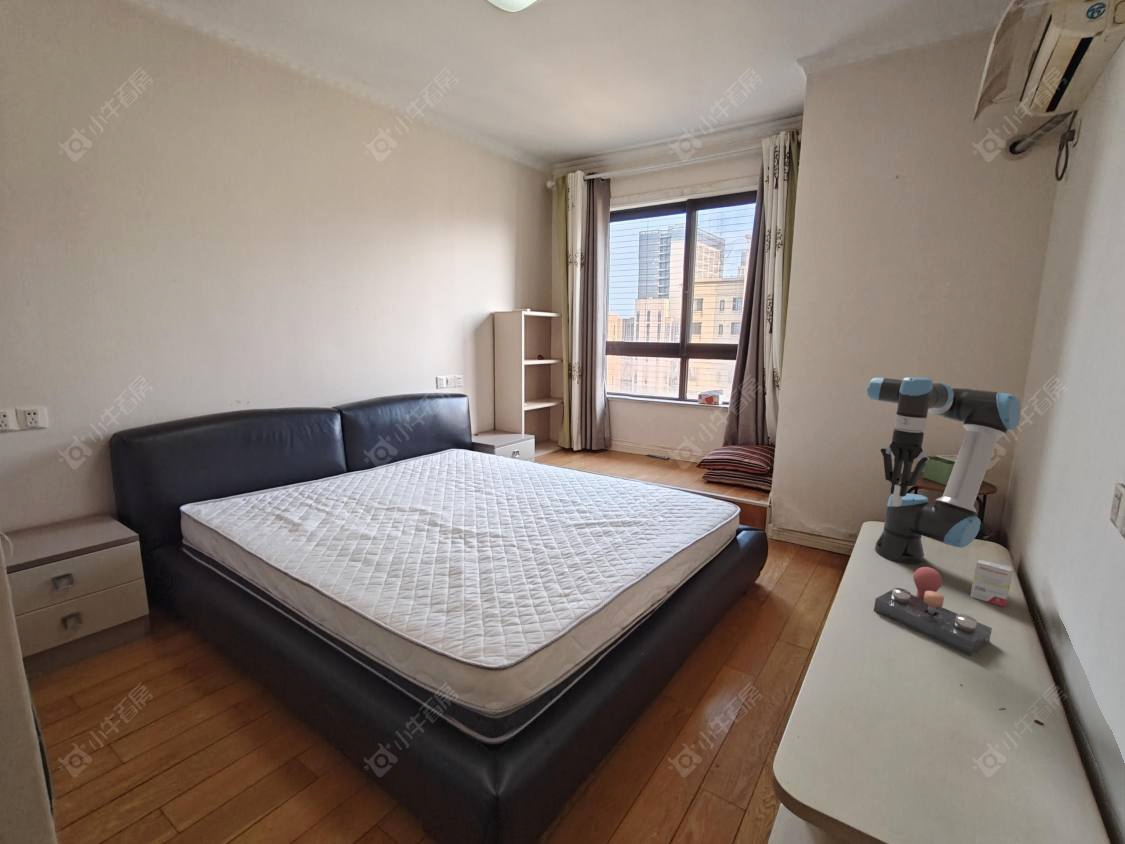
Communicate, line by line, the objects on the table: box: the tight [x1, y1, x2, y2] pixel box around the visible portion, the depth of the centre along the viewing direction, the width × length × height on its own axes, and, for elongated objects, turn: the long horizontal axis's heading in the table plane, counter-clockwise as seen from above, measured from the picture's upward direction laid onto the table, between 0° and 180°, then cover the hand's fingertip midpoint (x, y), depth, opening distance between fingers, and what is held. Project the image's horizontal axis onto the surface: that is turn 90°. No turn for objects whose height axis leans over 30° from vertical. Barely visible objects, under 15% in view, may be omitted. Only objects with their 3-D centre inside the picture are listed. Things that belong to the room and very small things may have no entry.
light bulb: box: [912, 566, 943, 600], centre depth 153 cm, size 7×7×12 cm
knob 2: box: [923, 591, 945, 616], centre depth 142 cm, size 4×4×6 cm
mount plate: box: [873, 589, 993, 657], centre depth 143 cm, size 12×24×4 cm, turn 32°
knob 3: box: [955, 613, 978, 632], centre depth 136 cm, size 4×4×6 cm
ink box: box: [970, 558, 1014, 608], centre depth 157 cm, size 9×5×12 cm, turn 46°
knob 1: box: [892, 587, 912, 603], centre depth 149 cm, size 4×4×6 cm
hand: (896, 505), depth 155 cm, fingers closed
